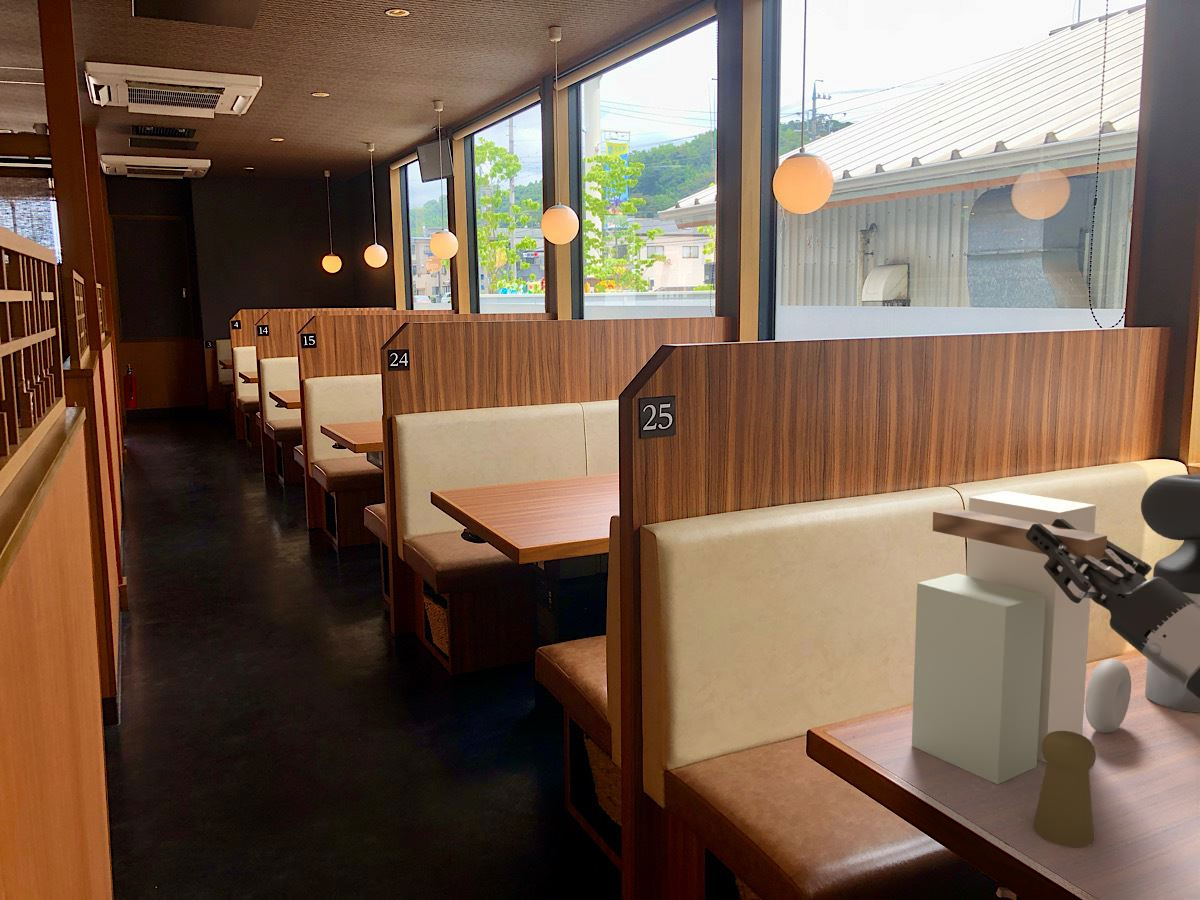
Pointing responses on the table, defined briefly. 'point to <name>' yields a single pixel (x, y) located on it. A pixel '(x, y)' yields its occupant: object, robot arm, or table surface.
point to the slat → (1012, 532)
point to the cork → (1066, 790)
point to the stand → (1000, 649)
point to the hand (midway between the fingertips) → (1042, 527)
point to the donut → (1108, 695)
